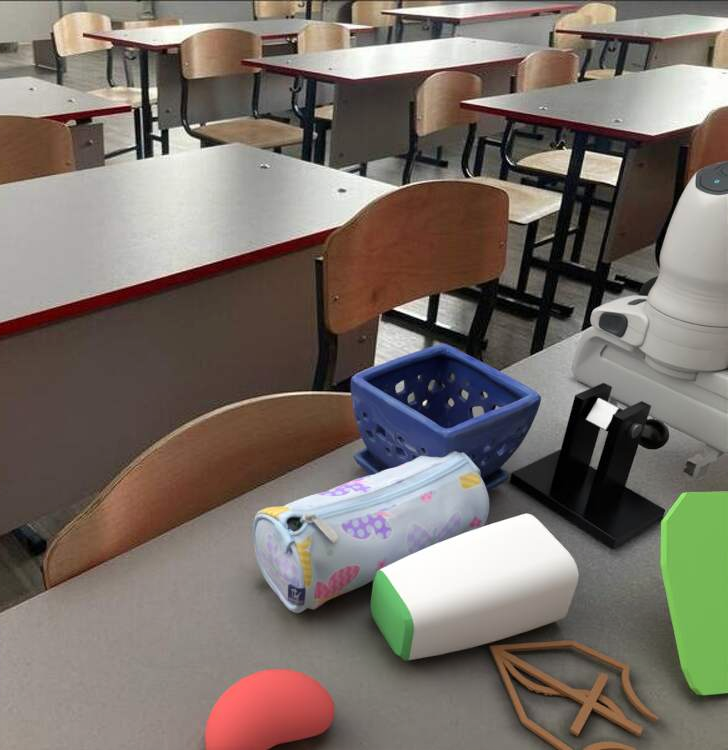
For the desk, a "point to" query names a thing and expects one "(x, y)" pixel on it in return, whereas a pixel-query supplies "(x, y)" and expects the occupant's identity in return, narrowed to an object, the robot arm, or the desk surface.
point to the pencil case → (366, 527)
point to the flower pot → (440, 412)
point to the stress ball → (269, 711)
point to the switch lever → (652, 434)
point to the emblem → (569, 692)
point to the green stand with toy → (698, 586)
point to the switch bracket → (594, 474)
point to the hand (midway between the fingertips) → (650, 451)
